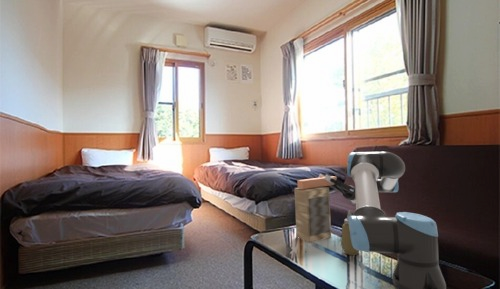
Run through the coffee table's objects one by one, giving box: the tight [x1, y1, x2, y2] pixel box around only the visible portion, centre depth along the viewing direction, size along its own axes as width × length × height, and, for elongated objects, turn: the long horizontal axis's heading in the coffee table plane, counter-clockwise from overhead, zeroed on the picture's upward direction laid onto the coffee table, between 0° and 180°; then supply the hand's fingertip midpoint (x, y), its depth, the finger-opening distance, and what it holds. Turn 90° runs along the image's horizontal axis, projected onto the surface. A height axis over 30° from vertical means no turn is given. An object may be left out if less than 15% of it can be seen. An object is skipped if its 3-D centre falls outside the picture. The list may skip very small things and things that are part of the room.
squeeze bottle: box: [340, 210, 360, 256], centre depth 125 cm, size 8×8×18 cm
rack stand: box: [293, 186, 332, 244], centre depth 146 cm, size 14×10×25 cm
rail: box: [296, 175, 338, 189], centre depth 148 cm, size 22×4×4 cm, turn 116°
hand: (322, 176), depth 150 cm, fingers closed on rail, 4 cm apart
